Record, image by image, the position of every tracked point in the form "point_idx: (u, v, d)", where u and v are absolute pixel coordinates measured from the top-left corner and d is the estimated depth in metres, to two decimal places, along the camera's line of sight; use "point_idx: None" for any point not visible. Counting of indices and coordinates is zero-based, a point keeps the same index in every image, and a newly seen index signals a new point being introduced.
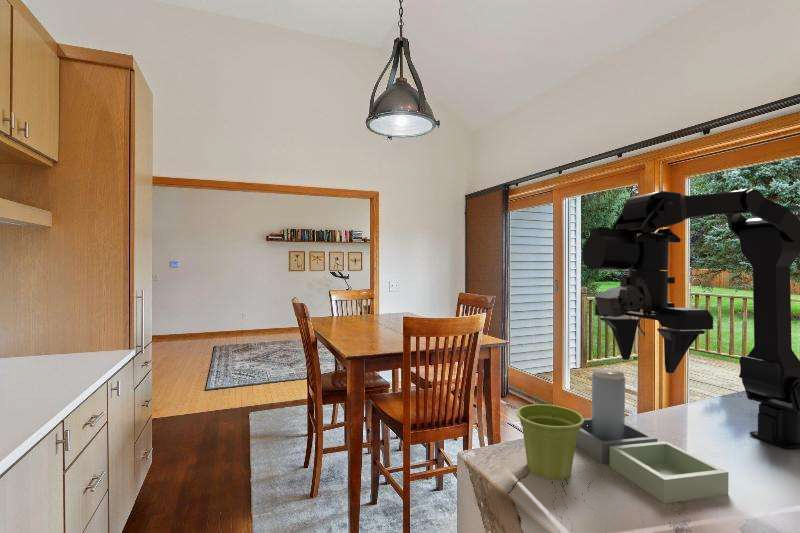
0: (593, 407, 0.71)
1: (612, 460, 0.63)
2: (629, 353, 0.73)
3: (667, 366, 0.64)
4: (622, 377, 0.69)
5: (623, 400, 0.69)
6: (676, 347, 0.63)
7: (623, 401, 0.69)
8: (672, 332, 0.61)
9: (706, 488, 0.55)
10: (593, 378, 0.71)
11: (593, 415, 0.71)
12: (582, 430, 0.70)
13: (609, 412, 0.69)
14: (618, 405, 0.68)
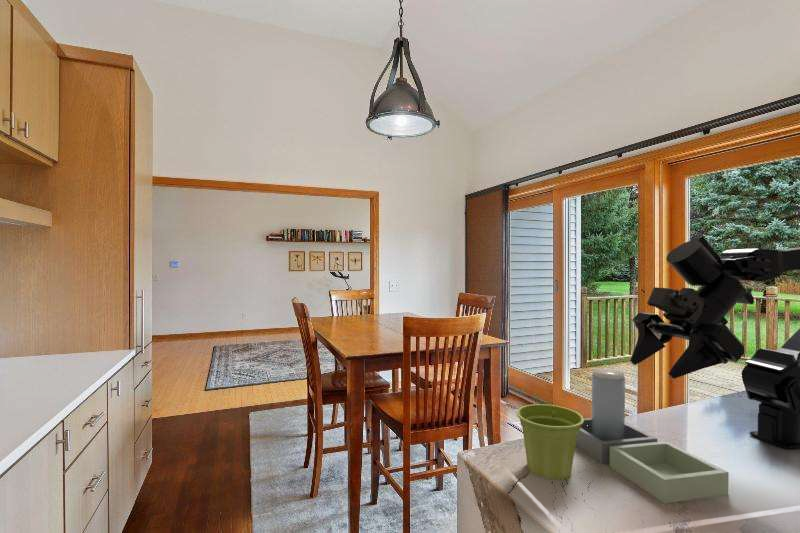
0: (593, 407, 0.71)
1: (612, 460, 0.63)
2: (639, 361, 0.76)
3: (673, 369, 0.67)
4: (622, 377, 0.69)
5: (623, 400, 0.69)
6: (693, 359, 0.67)
7: (623, 401, 0.69)
8: (703, 337, 0.65)
9: (706, 488, 0.55)
10: (593, 378, 0.71)
11: (593, 415, 0.71)
12: (582, 430, 0.70)
13: (609, 412, 0.69)
14: (618, 405, 0.68)
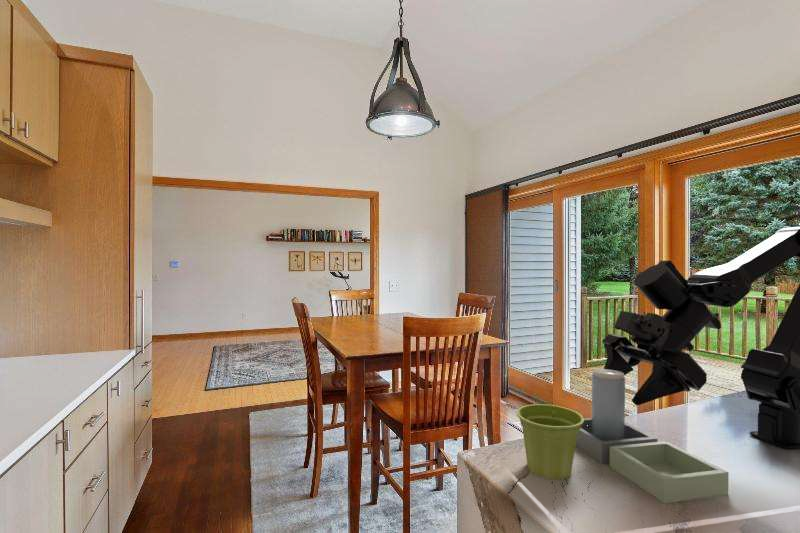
0: (593, 407, 0.71)
1: (612, 460, 0.63)
2: None
3: (637, 396, 0.66)
4: (622, 377, 0.69)
5: (623, 400, 0.69)
6: (656, 386, 0.66)
7: (623, 401, 0.69)
8: (666, 365, 0.64)
9: (706, 488, 0.55)
10: (593, 378, 0.71)
11: (593, 415, 0.71)
12: (582, 430, 0.70)
13: (609, 412, 0.69)
14: (618, 405, 0.68)
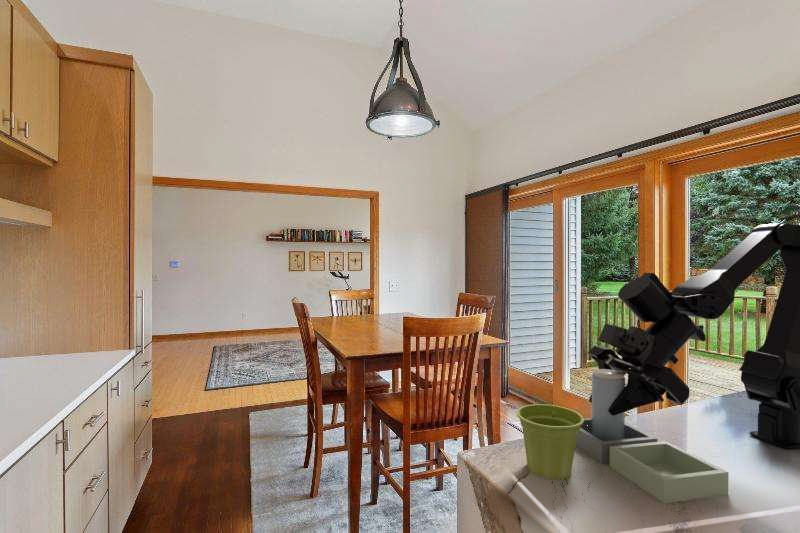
0: (593, 407, 0.71)
1: (612, 460, 0.63)
2: None
3: (612, 406, 0.68)
4: (622, 377, 0.69)
5: None
6: (631, 397, 0.67)
7: None
8: (640, 376, 0.65)
9: (706, 488, 0.55)
10: (593, 378, 0.71)
11: (593, 415, 0.71)
12: (582, 430, 0.70)
13: None
14: None
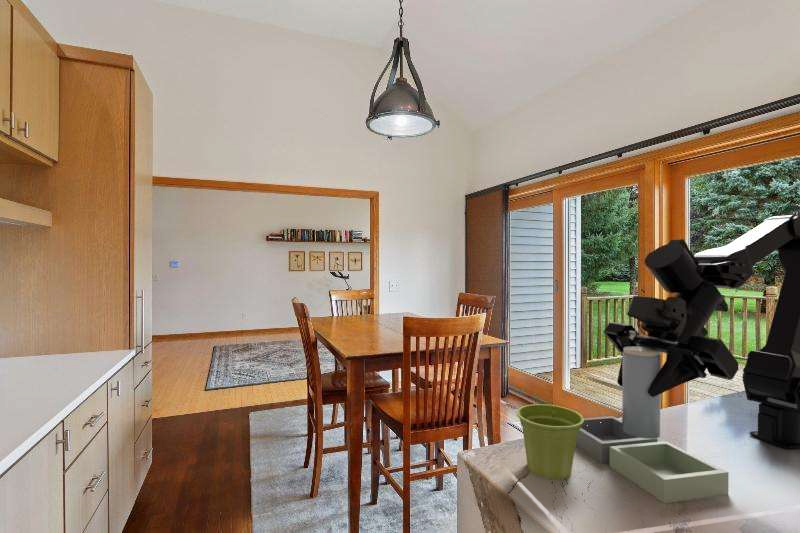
0: (627, 389, 0.63)
1: (612, 460, 0.63)
2: None
3: (653, 387, 0.61)
4: (658, 354, 0.62)
5: None
6: (672, 374, 0.61)
7: None
8: (685, 351, 0.59)
9: (706, 488, 0.55)
10: (626, 357, 0.63)
11: (627, 398, 0.63)
12: (582, 430, 0.70)
13: (647, 393, 0.61)
14: None
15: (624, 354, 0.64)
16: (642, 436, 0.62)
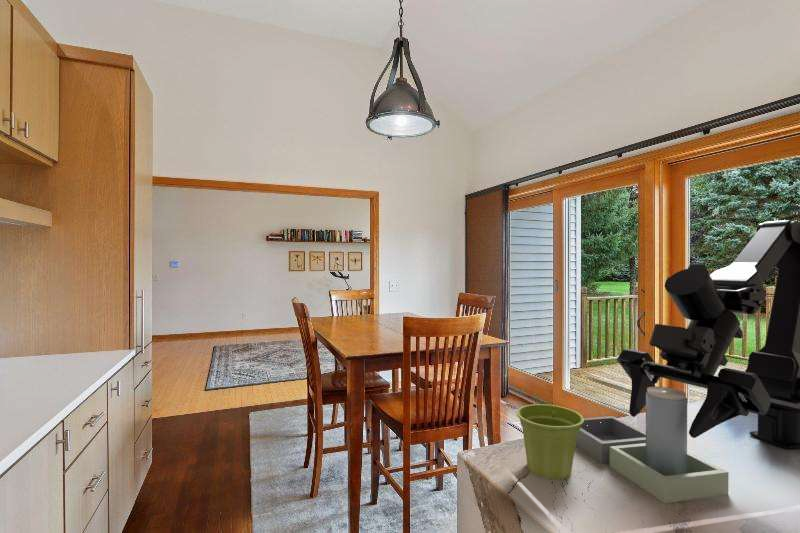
0: (653, 434, 0.59)
1: (612, 460, 0.63)
2: (637, 411, 0.64)
3: (694, 427, 0.56)
4: (685, 396, 0.59)
5: (686, 423, 0.59)
6: (713, 413, 0.56)
7: (686, 424, 0.59)
8: (730, 388, 0.54)
9: (706, 488, 0.55)
10: (652, 399, 0.60)
11: (653, 444, 0.59)
12: (582, 430, 0.70)
13: (676, 439, 0.58)
14: (684, 430, 0.58)
15: (649, 396, 0.60)
16: None
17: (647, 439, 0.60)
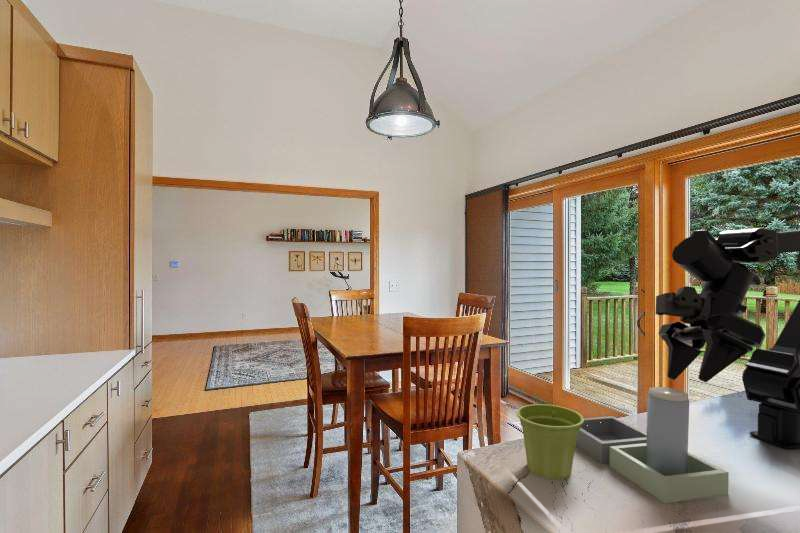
0: (654, 435, 0.59)
1: (612, 460, 0.63)
2: (677, 374, 0.72)
3: (701, 372, 0.64)
4: (687, 397, 0.59)
5: None
6: (717, 356, 0.63)
7: None
8: (713, 330, 0.62)
9: (706, 488, 0.55)
10: (654, 400, 0.59)
11: (654, 444, 0.59)
12: (582, 430, 0.70)
13: (677, 440, 0.58)
14: (686, 431, 0.58)
15: (651, 397, 0.60)
16: None
17: (648, 440, 0.60)
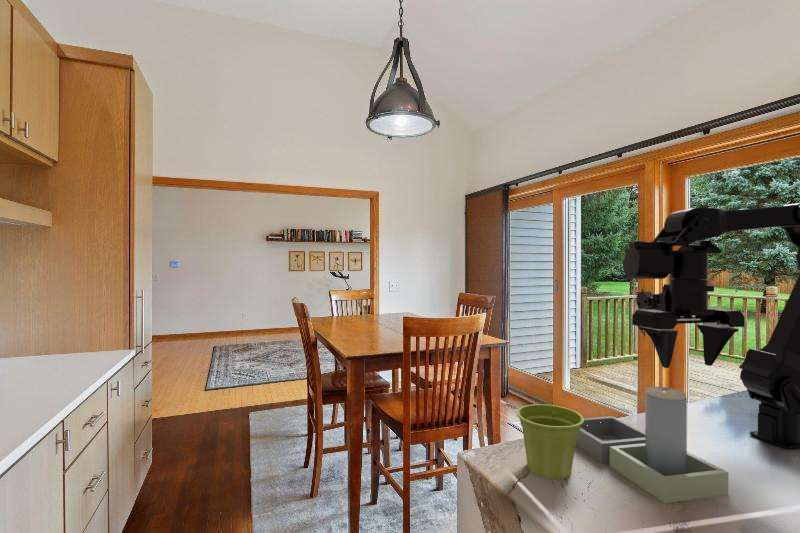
0: (652, 434, 0.59)
1: (612, 460, 0.63)
2: (710, 360, 0.76)
3: (662, 361, 0.75)
4: None
5: (686, 423, 0.59)
6: (660, 344, 0.74)
7: (686, 424, 0.59)
8: (638, 327, 0.77)
9: (706, 488, 0.55)
10: (651, 399, 0.60)
11: (652, 444, 0.59)
12: (582, 430, 0.70)
13: (675, 439, 0.58)
14: (684, 430, 0.58)
15: (648, 396, 0.60)
16: None
17: (647, 439, 0.61)
